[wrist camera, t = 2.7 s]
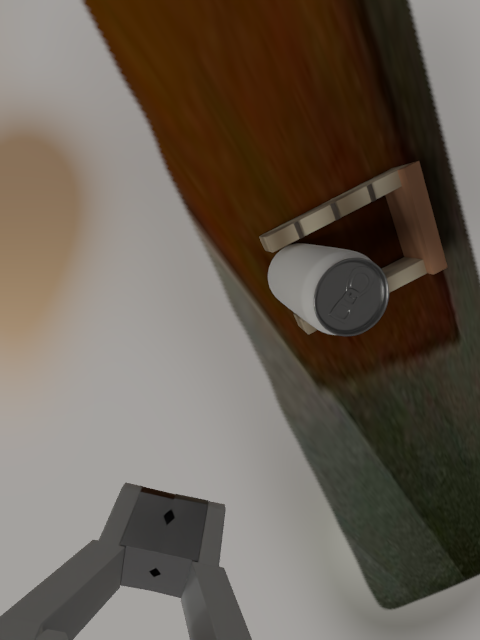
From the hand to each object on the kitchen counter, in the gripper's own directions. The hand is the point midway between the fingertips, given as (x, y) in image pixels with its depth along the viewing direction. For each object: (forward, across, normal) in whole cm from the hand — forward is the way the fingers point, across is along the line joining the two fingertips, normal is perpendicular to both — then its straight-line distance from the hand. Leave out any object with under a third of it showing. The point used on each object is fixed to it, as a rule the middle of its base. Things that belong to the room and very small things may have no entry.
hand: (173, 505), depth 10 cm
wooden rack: (+29, -10, -3) cm, 31 cm away
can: (+28, -6, 0) cm, 28 cm away
